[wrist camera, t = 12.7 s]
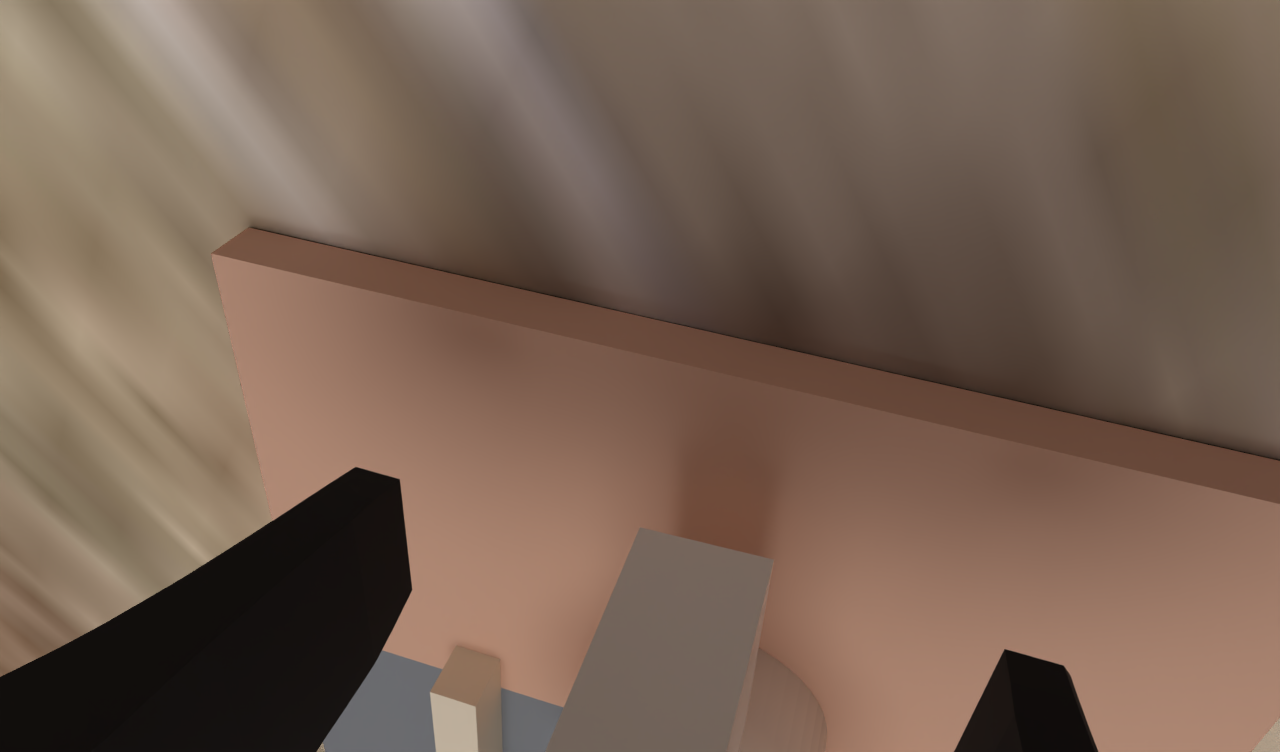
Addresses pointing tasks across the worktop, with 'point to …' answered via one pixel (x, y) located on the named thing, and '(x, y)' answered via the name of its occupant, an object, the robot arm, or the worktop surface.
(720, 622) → the jug
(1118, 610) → the jug holder
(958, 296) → the worktop surface
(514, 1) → the worktop surface
